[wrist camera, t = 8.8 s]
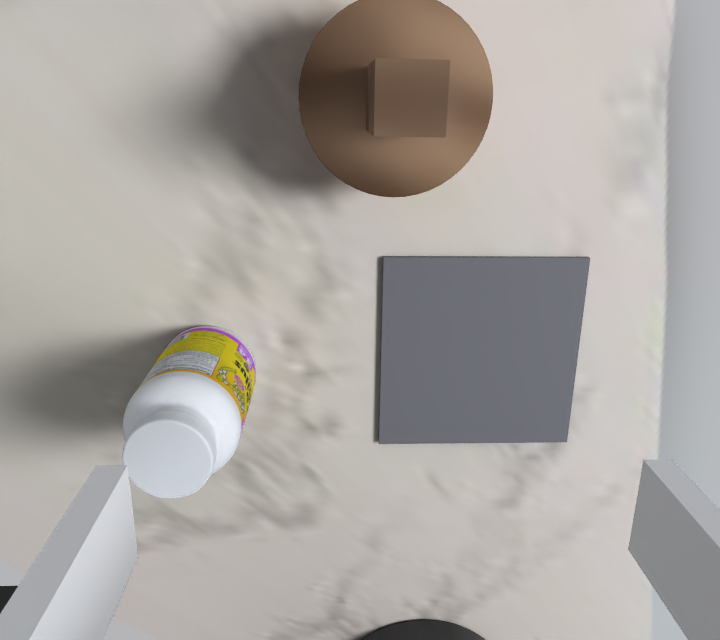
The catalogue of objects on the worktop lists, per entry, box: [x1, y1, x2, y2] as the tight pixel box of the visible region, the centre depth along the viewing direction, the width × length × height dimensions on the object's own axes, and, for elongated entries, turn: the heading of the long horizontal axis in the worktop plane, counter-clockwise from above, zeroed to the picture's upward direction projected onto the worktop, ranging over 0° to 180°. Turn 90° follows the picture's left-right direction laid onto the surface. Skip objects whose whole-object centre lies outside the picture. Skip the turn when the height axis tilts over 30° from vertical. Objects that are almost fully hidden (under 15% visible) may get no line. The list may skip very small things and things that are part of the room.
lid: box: [299, 0, 493, 197], centre depth 32 cm, size 10×10×8 cm
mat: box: [379, 256, 590, 444], centre depth 46 cm, size 14×14×1 cm
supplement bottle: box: [122, 326, 256, 499], centre depth 40 cm, size 7×7×13 cm
